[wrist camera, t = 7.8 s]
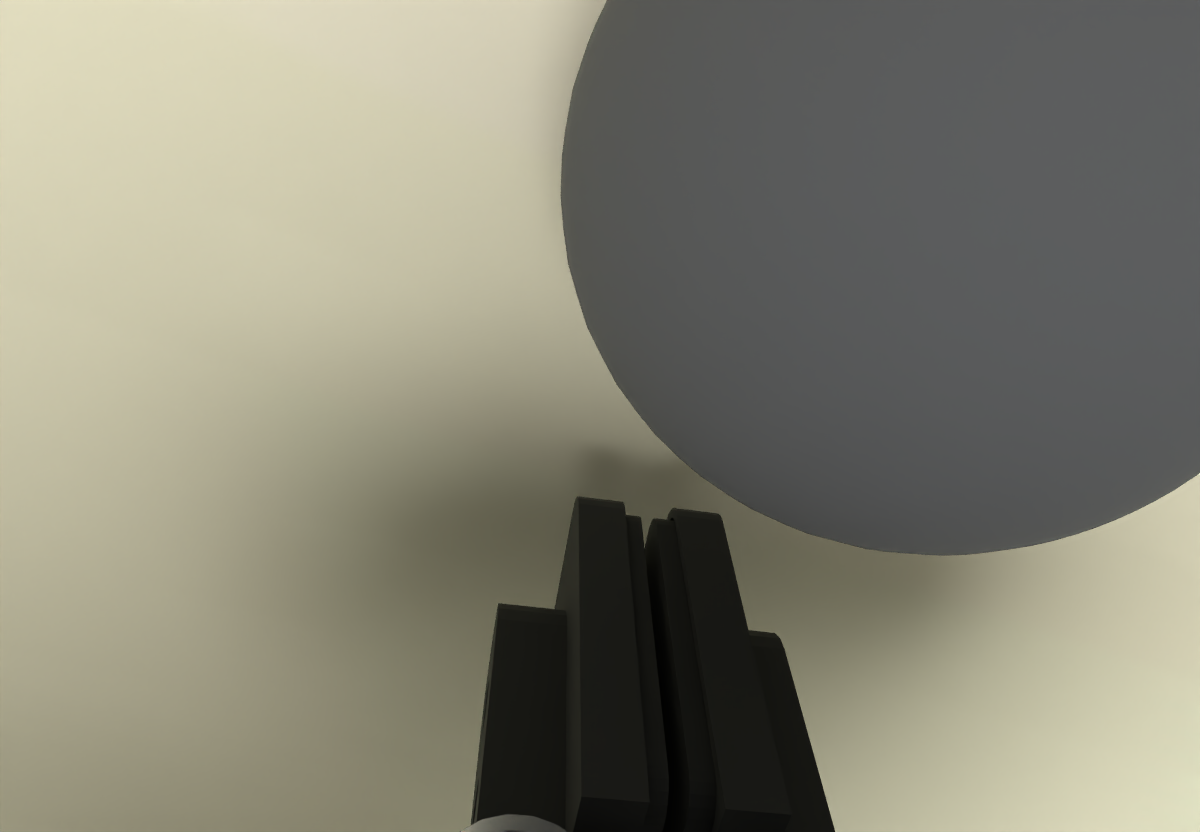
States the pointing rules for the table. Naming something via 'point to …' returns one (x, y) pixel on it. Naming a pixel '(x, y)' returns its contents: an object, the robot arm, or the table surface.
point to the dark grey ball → (899, 255)
